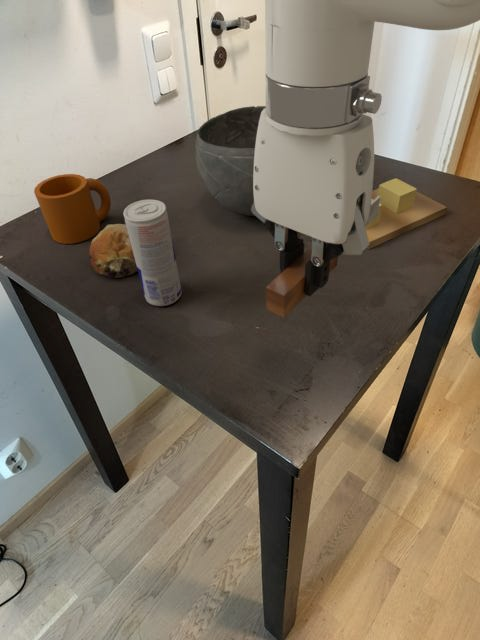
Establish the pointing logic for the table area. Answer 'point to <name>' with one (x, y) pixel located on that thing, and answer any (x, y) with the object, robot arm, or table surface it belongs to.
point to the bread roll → (113, 252)
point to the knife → (298, 278)
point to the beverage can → (153, 251)
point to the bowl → (229, 157)
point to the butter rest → (396, 195)
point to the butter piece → (377, 218)
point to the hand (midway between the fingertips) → (303, 281)
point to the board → (403, 219)
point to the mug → (72, 207)
